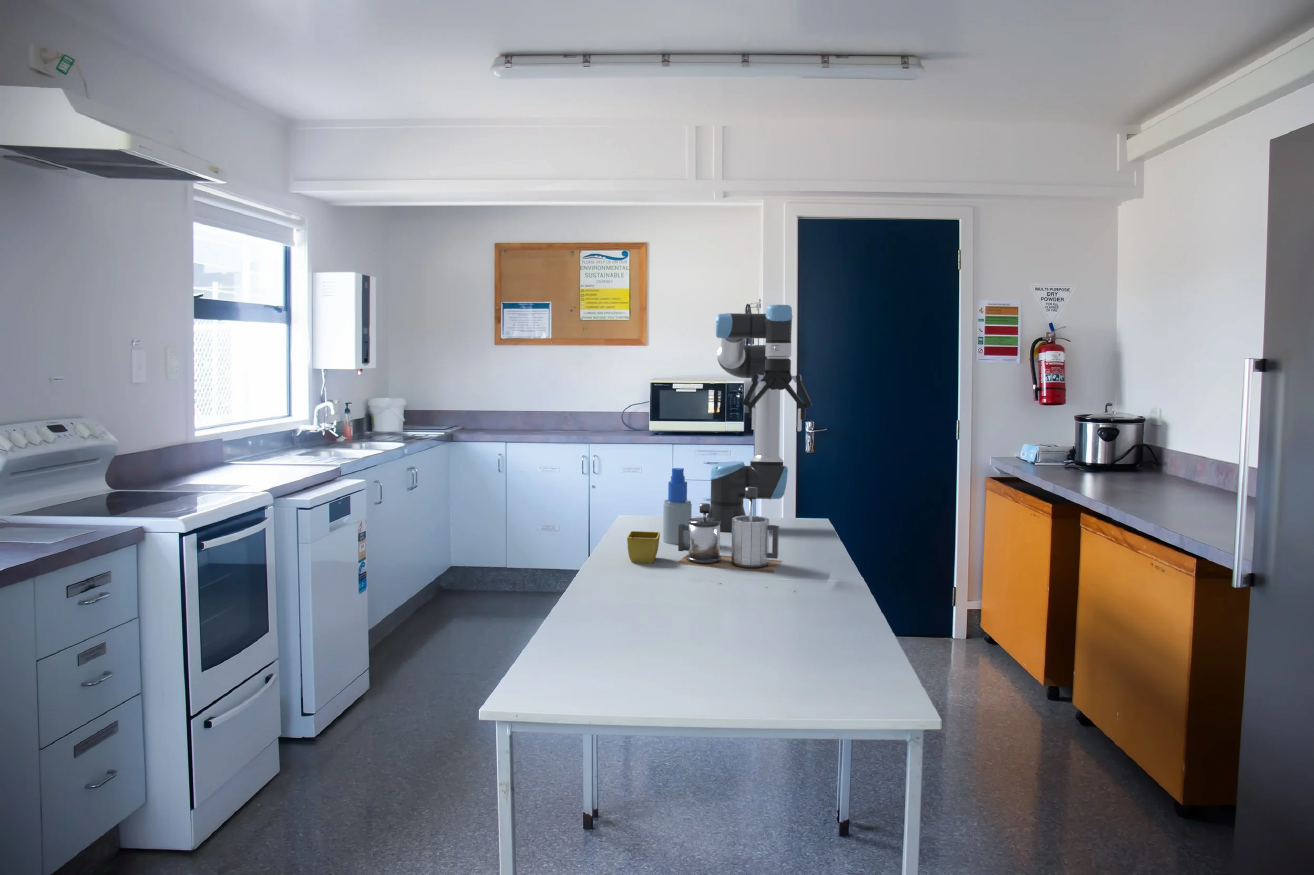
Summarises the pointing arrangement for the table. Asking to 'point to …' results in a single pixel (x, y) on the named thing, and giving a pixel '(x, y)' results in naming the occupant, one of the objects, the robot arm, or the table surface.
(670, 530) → the spray bottle
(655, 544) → the flower pot
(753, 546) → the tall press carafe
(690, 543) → the short press
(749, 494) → the plunger
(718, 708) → the table surface
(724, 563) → the serving board
